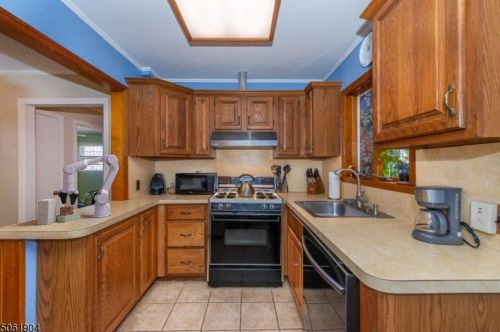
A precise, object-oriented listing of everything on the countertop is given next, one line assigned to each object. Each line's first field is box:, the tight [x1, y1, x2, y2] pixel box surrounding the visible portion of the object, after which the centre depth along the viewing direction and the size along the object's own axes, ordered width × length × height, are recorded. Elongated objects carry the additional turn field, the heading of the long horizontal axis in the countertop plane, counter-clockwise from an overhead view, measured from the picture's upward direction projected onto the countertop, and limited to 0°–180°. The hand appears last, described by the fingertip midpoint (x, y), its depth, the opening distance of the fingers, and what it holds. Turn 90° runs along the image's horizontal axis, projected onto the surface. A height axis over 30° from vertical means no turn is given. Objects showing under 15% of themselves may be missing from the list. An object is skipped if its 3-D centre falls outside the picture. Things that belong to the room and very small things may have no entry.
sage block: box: [55, 212, 81, 223], centre depth 158 cm, size 10×10×4 cm
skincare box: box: [37, 198, 58, 226], centre depth 149 cm, size 8×6×15 cm
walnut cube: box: [59, 205, 74, 216], centre depth 157 cm, size 5×5×5 cm
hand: (68, 204), depth 158 cm, fingers open, 7 cm apart
